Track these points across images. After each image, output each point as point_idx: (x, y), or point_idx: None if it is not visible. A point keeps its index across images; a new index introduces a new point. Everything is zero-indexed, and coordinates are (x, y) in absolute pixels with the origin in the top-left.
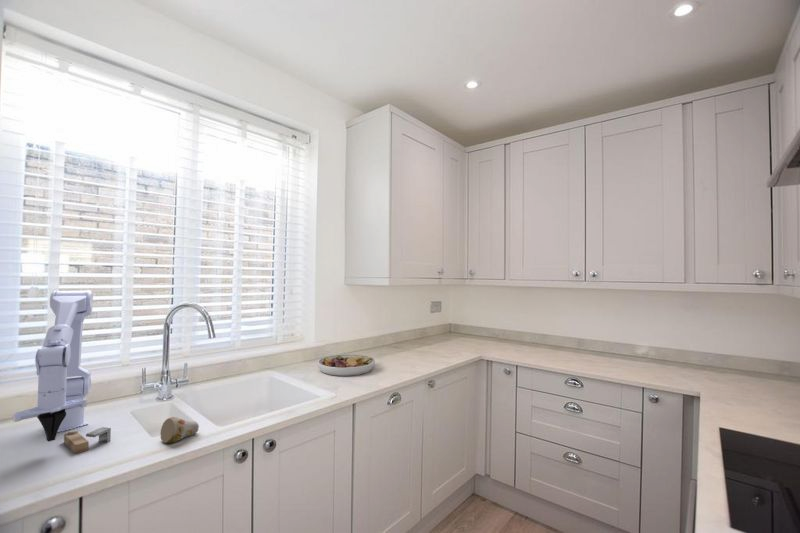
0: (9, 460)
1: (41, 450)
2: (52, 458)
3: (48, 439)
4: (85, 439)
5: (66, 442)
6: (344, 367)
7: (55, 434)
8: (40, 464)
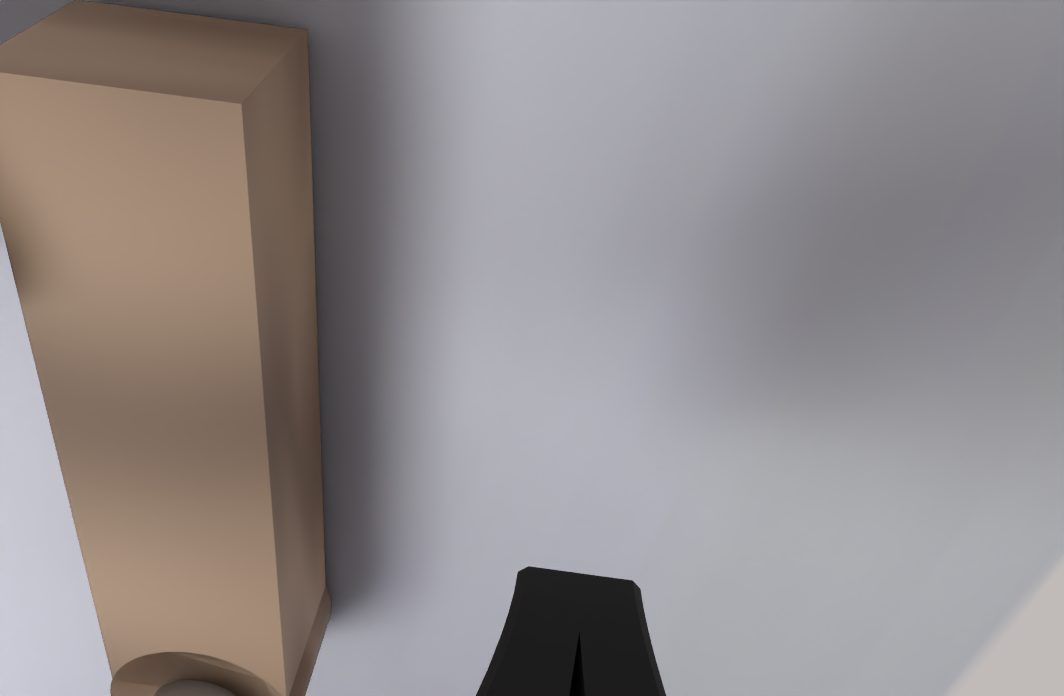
0: (946, 656)
1: None
2: (627, 237)
3: (643, 620)
4: (20, 260)
5: (311, 566)
6: None
7: (514, 660)
8: (860, 148)
